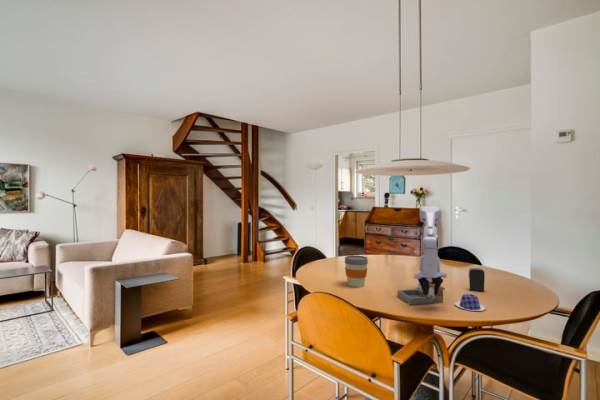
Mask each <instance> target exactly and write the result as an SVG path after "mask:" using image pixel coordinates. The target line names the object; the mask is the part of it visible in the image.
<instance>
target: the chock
mask: <svg viewBox="0 0 600 400" xmlns="http://www.w3.org/2000/svg"><path fill="white" fill-rule="evenodd" d="M444 290H445V287H443V286H442V285H440V287H439V290H438V294H437V295H435V294H434V299H433V303H435V304H436V303H444Z"/></svg>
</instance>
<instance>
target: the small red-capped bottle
mask: <svg viewBox="0 0 600 400" xmlns="http://www.w3.org/2000/svg"><path fill="white" fill-rule="evenodd" d="M434 286H436V283H434V282H429V284H428V294H427V296H426V298H427V299H430V300H433V299H434Z"/></svg>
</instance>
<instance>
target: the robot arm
mask: <svg viewBox="0 0 600 400" xmlns="http://www.w3.org/2000/svg"><path fill="white" fill-rule="evenodd" d="M441 217H442V207H441V206H439V205H438V206H430V205H429V206H426V205H425V206H424V205H423V206H422V205H421V206H419V220H420V222H422V223H424V227H423V237H422V240H421V241H422V243H421V244H422V255H421V256H420V257H419V263H418V264H419V265H418V266H419V267H418V268H419V273H414V274H413V279H414V280H418V281H417V282H418V284H417V285H418V286H416V289H419V290H421V291H423V294H424V295H425V296H427V294H428V284H429V282H434V283H436V286H434V294H435V295H437V294H438V290H439V287H440V286H442V283H444V279H446V278H447V272H441V260H440V257H439V256H438V255H439V254H438V253H439V248H440V247H439V246H440V239H439V236H438V228H437V226H436V223H440V221H441ZM443 278H444V279H443Z"/></svg>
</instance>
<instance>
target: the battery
mask: <svg viewBox="0 0 600 400" xmlns="http://www.w3.org/2000/svg"><path fill="white" fill-rule="evenodd" d="M485 275H486V274H485V270H483V269H482V268H476V267H470V268H469V269H468V281H469V283H468V285H469V286H468V287H469V288H468V290H469V291H474V292H485V280H486V279H485V277H486V276H485Z"/></svg>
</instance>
